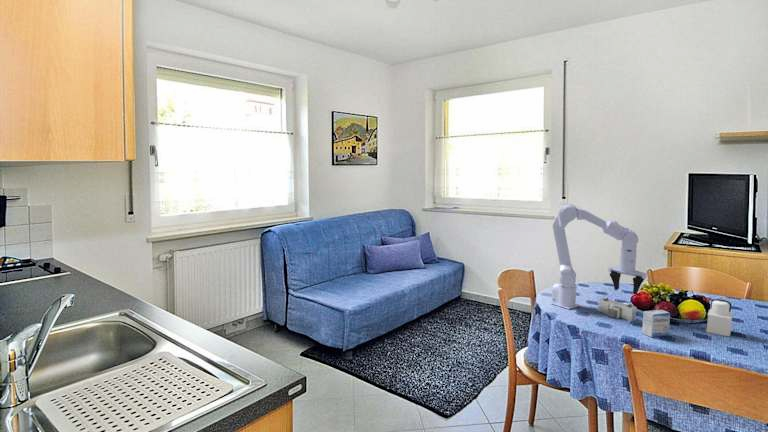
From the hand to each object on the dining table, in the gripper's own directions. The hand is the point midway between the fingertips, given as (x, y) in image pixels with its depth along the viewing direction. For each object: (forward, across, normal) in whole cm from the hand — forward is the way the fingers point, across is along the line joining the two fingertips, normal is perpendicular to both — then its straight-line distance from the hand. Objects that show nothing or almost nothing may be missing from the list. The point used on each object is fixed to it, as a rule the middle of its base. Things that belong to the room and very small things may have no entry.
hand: (625, 291), depth 190 cm
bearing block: (+9, 0, -6) cm, 11 cm away
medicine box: (+9, +18, -15) cm, 25 cm away
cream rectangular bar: (+9, 0, -3) cm, 10 cm away
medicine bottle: (+9, +31, +7) cm, 33 cm away
